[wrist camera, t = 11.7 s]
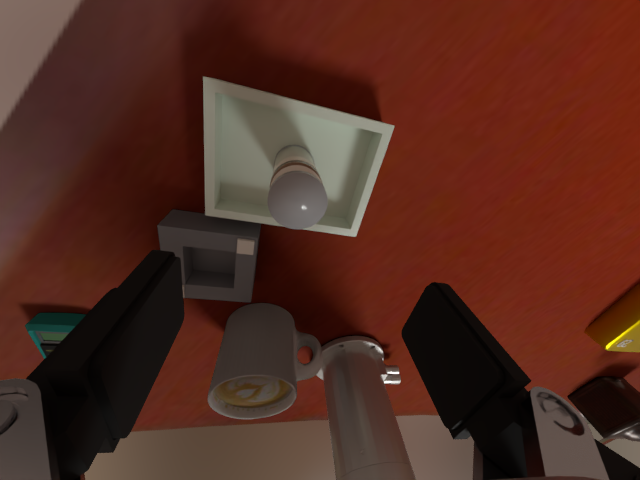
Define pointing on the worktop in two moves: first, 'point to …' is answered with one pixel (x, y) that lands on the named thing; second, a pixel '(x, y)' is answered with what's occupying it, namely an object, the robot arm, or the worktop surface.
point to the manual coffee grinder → (610, 407)
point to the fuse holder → (212, 254)
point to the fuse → (296, 189)
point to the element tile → (619, 324)
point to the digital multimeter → (51, 329)
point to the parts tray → (274, 134)
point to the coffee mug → (260, 363)
